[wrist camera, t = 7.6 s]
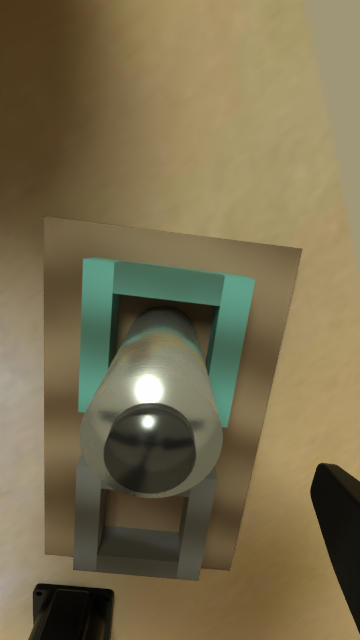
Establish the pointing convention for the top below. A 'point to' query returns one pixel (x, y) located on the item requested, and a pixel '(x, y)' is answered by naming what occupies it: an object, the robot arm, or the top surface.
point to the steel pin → (154, 411)
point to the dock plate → (101, 348)
